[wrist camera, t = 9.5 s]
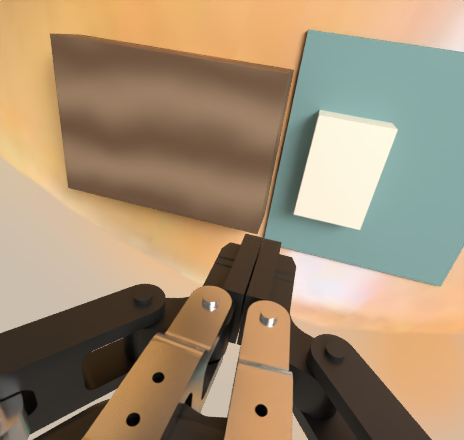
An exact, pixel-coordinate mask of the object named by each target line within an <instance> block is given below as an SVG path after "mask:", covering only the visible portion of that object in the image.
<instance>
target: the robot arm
mask: <svg viewBox="0 0 464 440" xmlns="http://www.w3.org/2000/svg"><path fill="white" fill-rule="evenodd" d="M262 242H263V244H262ZM281 243H282V242H279V241H274V240H270V239H266V238H264V241H263V238H262V237H257V236H253V235H249V234H245V236H244V239H243V241H242V243H241V245H239V244H235V243H231V242H230V243H229V244H227V245H226V246H224V247H223V248H222V249H221V251H220V253H219V255H218V257H217V259H216V261H215V264H214V265H213V267H212V269H211V271H210V273H209V275H208V277H207V279H206V281H205V283H204V285H203V287H200V288H198V289H196V290H195V291H193V293H192V294H191V295H190V297H186V298H165V294H164V292H163V291H162V290H161V289H160V288H159V287H157V286H155V285H151V284H140V285H135V286H132V287H129V288H126V289H124V290H121V291H119V292H115V293H112V294H110V295H107V296H104V297H101V298H98V299H96V300H93V301H90V302H87V303H84V304H82V305H79V306H76V307H73V308H70V309H68V310H65V311H62V312H59V313H56V314H53V315H51V316H48V317H45V318H42V319H39V320H37V321H34V322H31V323H28V324H25V325H23V326H20V327H17V328H14V329H11V330H9V331H6V332H3V333H0V440H27V439H28V437H29V435H30V434H32V433H34V432H35V431H37V430H39V429H41V428H43V427H45V426H47V425H49V424H50V423H53V422H54V421H56V420H58V419H60V418H62V417H64V416H66V415H67V414H70V413H72V412H73V411H75V410H77V409H79V408H81V407H83V406H85V405H87V404H89V403H91V402H92V401H94V400H96V399H98V398H100V397H102V396H104V395H106V394H108V393H109V392H112V391H113V390H115V389H117V390H116V391H115V393H114V394H113V396H112V397H111V399H108V400H105V401H102V402H100V403H97V404H95V405H93V406H91V407H89V408H88V409H86V410H84V411H82V412H81V413H79V414H77V415H75V416H73V417H72V418H70V419H68V420H67V421H65V422H63V423H61V424H59V425H58V426H56V427H54V428H52V429H51V430H49V431H47V432H46V433H44V434H42V435H40V436H38V437H37V438H35V439H33V440H292V411H293V413H294V415H295V417H296V419H297V421H298V422H299V424H300V426H301V427H302V429H303V431H304V433H305V435H306V436H307V438H308V440H432V439H431V438H430V437H429V436H428V435H427V434H426V433H425V431H424V430H423V429H422V428H421V427H420V425H419V424H418V423H417V422H416V421H415V420H414V418H413V417H412V416H411V415H410V414H409V412H408V411H407V410H406V409H405V408H404V407H403V405H402V404H401V403H400V402H399V401H398V400H397V399H396V397H395V396H394V395H393V394H392V393H391V391H390V390H389V389H388V388H387V387H386V386H385V384H384V383H383V382H382V381H381V380H380V379H379V377H378V376H377V375H376V374H375V373H374V371H373V370H372V369H371V368H370V367H369V366H368V365H367V363H366V362H365V361H364V360H363V359H362V357H361V356H360V355H359V354H358V353H357V352H356V350H355V349H354V348H353V347H352V346H351V345H350V344H349V343H348V342H347V341H345V340H343V339H342V338H340V337H338V336H335V335H330V334H323V335H319V336H317V337H315V338H313V337H311V336H309V335H308V334H306V333H304V332H303V331H301V330H300V329H299V328H298V327H297V326H296V325H295V324H294V323H293V321H292V319H291V316H290V306H291V299H292V292H293V285H294V278H295V271H296V265H295V263H294V261H293V259H292V257H288V256H284V255H280V254H279V252H280V248H281ZM239 329H240V331H239ZM238 333H239V337H238V341H237V344H238V345H241V347H240V352H239V357H238V362H237V368H236V373H235V378H234V383H233V389H232V395H231V400H230V405H229V411H228V415H227V418H223V417H221V418H220V417H207V416H204V415H202V414H200V413H201V410H202V407H203V405H204V403H205V400H206V398H207V395H208V393H209V391H210V388H211V386H212V384H213V381H214V379H215V377H216V374H217V372H218V370H219V367H220V365H221V363H222V360H223V355H224V354H225V351H226V349H227V346H228V342H231V343H235V342H236V339H237V336H238ZM121 338H122V339H121ZM119 339H120V340H119ZM116 340H117V341H116ZM114 341H115V342H114ZM112 342H113V343H112ZM109 343H111V344H109ZM107 344H108V345H107ZM105 345H106V346H105ZM103 346H104V347H103ZM100 347H102V348H100ZM98 348H99V349H98ZM96 349H97V350H96ZM94 350H95V351H94ZM92 351H93V352H92Z"/></svg>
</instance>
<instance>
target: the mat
mask: <svg viewBox="0 0 464 440" xmlns="http://www.w3.org/2000/svg"><path fill="white" fill-rule="evenodd" d="M319 110H324V111H329V112H335V113H340V114H345V115H351V116H356V117H362V118H367V119H373V120H378V121H383V122H389V123H393V124H394V126H395V127H396V128H397V129H398V131H397V133H396V136H395V139H394V141H393V144H392V147H391V149H390V152H389V155H388V157H387V160H386V163H385V165H384V168H383V171H382V173H381V176H380V178H379V181H378V184H377V186H376V189H375V192H374V194H373V197H372V200H371V202H370V205H369V208H368V210H367V213H366V216H365V218H364V221H363V224H362V226H361V229H360V230H358V229H353V228H349V227H345V226H341V225H336V224H332V223H328V222H324V221H319V220H315V219H311V218H307V217H302V216H298V215H294V210H295V205H296V201H297V197H298V193H299V189H300V185H301V181H302V177H303V173H304V169H305V165H306V161H307V158H308V154H309V150H310V146H311V142H312V138H313V134H314V130H315V126H316V122H317V118H318V114H319ZM264 238H266V239H270V240H274V241H279V242H282V243H281V247H283V248H287V249H291V250H295V251H299V252H303V253H307V254H311V255H315V256H319V257H323V258H327V259H332V260H336V261H340V262H344V263H348V264H352V265H356V266H360V267H364V268H368V269H372V270H376V271H380V272H384V273H388V274H392V275H396V276H400V277H404V278H408V279H412V280H416V281H420V282H424V283H428V284H432V285H436V286H440V287H441V285H442V283H443V282H444V280H445V278H446V276H447V275H448V273H449V271H450V269H451V268H452V266H453V264H454V262H455V261H456V259H457V257H458V255H459V253H460V252H461V250H462V248H463V246H464V52H458V51H451V50H445V49H438V48H431V47H424V46H417V45H410V44H403V43H396V42H389V41H383V40H376V39H369V38H362V37H355V36H348V35H341V34H334V33H327V32H321V31H314V30H308V33H307V38H306V43H305V47H304V52H303V57H302V62H301V66H300V71H299V76H298V80H297V85H296V90H295V95H294V99H293V104H292V109H291V114H290V118H289V123H288V128H287V133H286V137H285V142H284V147H283V151H282V156H281V161H280V166H279V170H278V175H277V180H276V185H275V189H274V194H273V199H272V203H271V208H270V213H269V218H268V222H267V227H266V232H265V237H264Z"/></svg>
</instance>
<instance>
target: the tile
mask: <svg viewBox="0 0 464 440" xmlns="http://www.w3.org/2000/svg"><path fill="white" fill-rule="evenodd" d="M397 131H398V129H397V128H396V127H395V126H394V124H393V123H389V122H383V121H378V120H373V119H367V118H362V117H356V116H351V115H345V114H340V113H335V112H329V111H324V110H319V114H318V118H317V122H316V126H315V130H314V134H313V138H312V142H311V146H310V150H309V154H308V158H307V161H306V165H305V169H304V173H303V177H302V181H301V185H300V189H299V193H298V197H297V201H296V205H295V210H294V215H298V216H302V217H307V218H311V219H315V220H319V221H324V222H328V223H332V224H336V225H341V226H345V227H349V228H353V229H358V230H360V229H361V226H362V224H363V221H364V218H365V216H366V213H367V210H368V208H369V205H370V202H371V200H372V197H373V194H374V192H375V189H376V186H377V184H378V181H379V178H380V176H381V173H382V171H383V168H384V165H385V163H386V160H387V157H388V155H389V152H390V149H391V147H392V144H393V141H394V139H395V136H396V133H397Z"/></svg>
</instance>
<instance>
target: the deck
mask: <svg viewBox="0 0 464 440" xmlns="http://www.w3.org/2000/svg"><path fill="white" fill-rule="evenodd" d="M50 38H51V46H52V55H53V63H54V71H55V80H56V88H57V96H58V105H59V113H60V122H61V130H62V138H63V147H64V155H65V163H66V172H67V180H68V188H71V189H75V190H79V191H83V192H87V193H91V194H95V195H100V196H104V197H108V198H112V199H116V200H120V201H124V202H128V203H132V204H136V205H140V206H144V207H148V208H153V209H157V210H161V211H165V212H169V213H173V214H177V215H181V216H185V217H189V218H193V219H197V220H201V221H206V222H210V223H214V224H218V225H222V226H226V227H230V228H234V229H238V230H242V231H246V232H250V233H254V234H258V231H259V228H260V226H261V223H262V220H263V217H264V214H265V209H266V204H267V200H268V195H269V190H270V185H271V180H272V175H273V170H274V165H275V160H276V155H277V150H278V145H279V141H280V136H281V131H282V126H283V121H284V116H285V111H286V106H287V101H288V96H289V91H290V87H291V82H292V77H293V72H294V70H291V69H285V68H279V67H273V66H267V65H261V64H255V63H249V62H243V61H237V60H231V59H224V58H218V57H212V56H206V55H200V54H194V53H188V52H182V51H176V50H170V49H164V48H158V47H152V46H146V45H140V44H133V43H127V42H121V41H115V40H109V39H103V38H97V37H91V36H85V35H73V34H50Z"/></svg>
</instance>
